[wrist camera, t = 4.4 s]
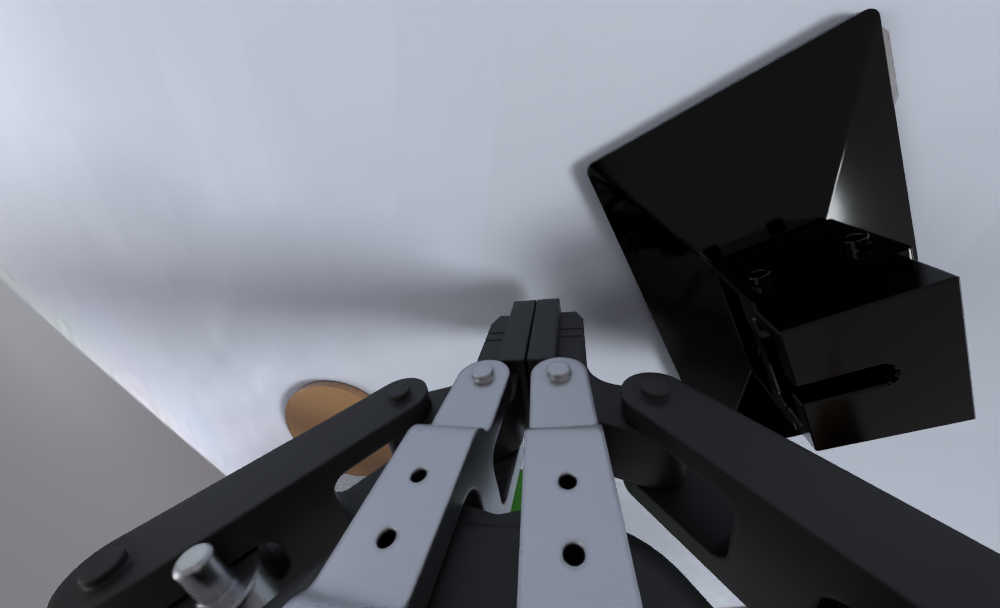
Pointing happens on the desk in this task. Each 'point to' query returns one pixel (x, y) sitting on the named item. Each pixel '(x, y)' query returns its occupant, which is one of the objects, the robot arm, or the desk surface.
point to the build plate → (794, 249)
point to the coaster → (322, 404)
